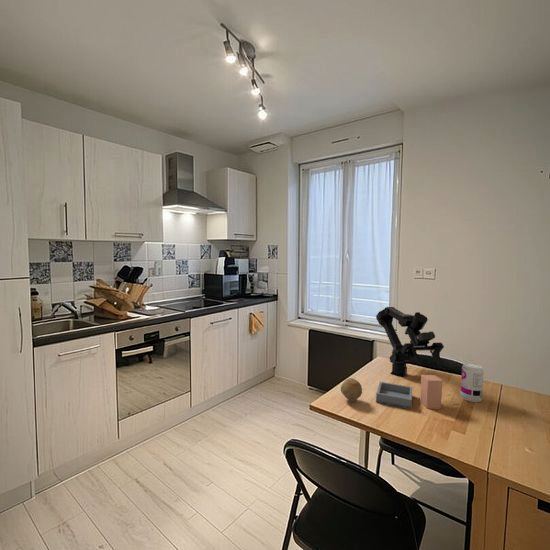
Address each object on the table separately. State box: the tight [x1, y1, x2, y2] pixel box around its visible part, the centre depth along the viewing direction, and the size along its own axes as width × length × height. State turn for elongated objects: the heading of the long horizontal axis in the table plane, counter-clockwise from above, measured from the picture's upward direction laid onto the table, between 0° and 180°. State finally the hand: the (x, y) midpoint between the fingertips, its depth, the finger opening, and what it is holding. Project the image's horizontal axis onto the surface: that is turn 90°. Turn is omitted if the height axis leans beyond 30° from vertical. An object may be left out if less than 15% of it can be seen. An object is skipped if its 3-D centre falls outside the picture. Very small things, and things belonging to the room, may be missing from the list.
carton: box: [419, 374, 443, 410], centre depth 136 cm, size 6×6×12 cm
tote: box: [375, 381, 413, 410], centre depth 141 cm, size 14×14×4 cm
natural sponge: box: [340, 377, 363, 403], centre depth 138 cm, size 9×9×10 cm
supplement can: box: [459, 362, 485, 403], centre depth 142 cm, size 8×8×15 cm
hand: (430, 364), depth 143 cm, fingers open, 9 cm apart
